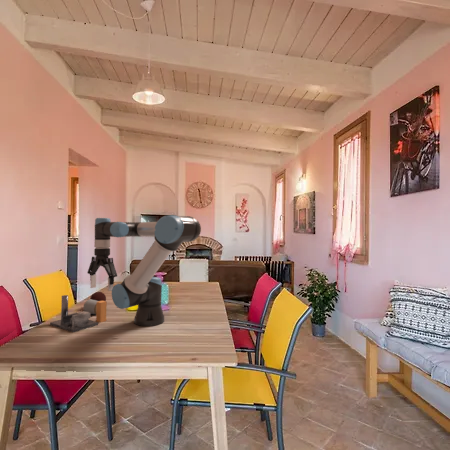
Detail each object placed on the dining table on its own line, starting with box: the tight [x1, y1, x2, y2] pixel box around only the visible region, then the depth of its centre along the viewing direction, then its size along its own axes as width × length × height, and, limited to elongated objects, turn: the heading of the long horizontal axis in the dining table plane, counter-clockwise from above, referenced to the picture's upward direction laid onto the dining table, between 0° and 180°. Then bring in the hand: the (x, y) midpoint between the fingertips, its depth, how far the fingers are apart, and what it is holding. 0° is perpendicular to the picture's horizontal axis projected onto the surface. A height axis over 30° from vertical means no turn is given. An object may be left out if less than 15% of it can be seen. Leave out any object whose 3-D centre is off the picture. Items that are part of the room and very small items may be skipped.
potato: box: [89, 291, 107, 301], centre depth 182 cm, size 9×12×9 cm
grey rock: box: [72, 310, 92, 327], centre depth 146 cm, size 6×8×6 cm
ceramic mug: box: [83, 298, 98, 316], centre depth 170 cm, size 11×8×8 cm
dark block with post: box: [49, 294, 99, 333], centre depth 149 cm, size 19×13×13 cm
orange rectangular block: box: [95, 300, 108, 324], centre depth 156 cm, size 3×3×10 cm
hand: (101, 289), depth 156 cm, fingers open, 13 cm apart
